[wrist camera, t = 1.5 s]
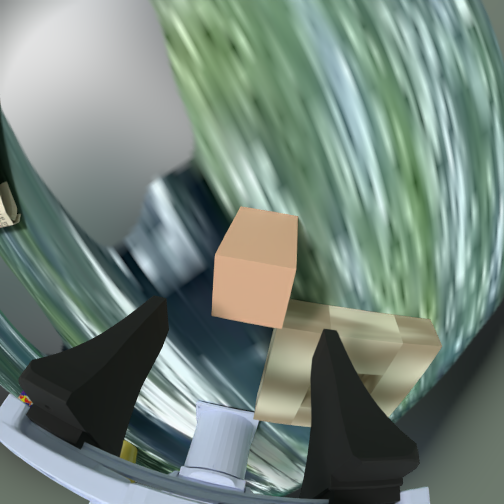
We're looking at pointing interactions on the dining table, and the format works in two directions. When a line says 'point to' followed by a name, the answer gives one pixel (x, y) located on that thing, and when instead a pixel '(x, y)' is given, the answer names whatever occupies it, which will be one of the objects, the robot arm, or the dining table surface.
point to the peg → (256, 268)
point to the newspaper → (7, 206)
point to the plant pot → (128, 454)
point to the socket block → (358, 349)
